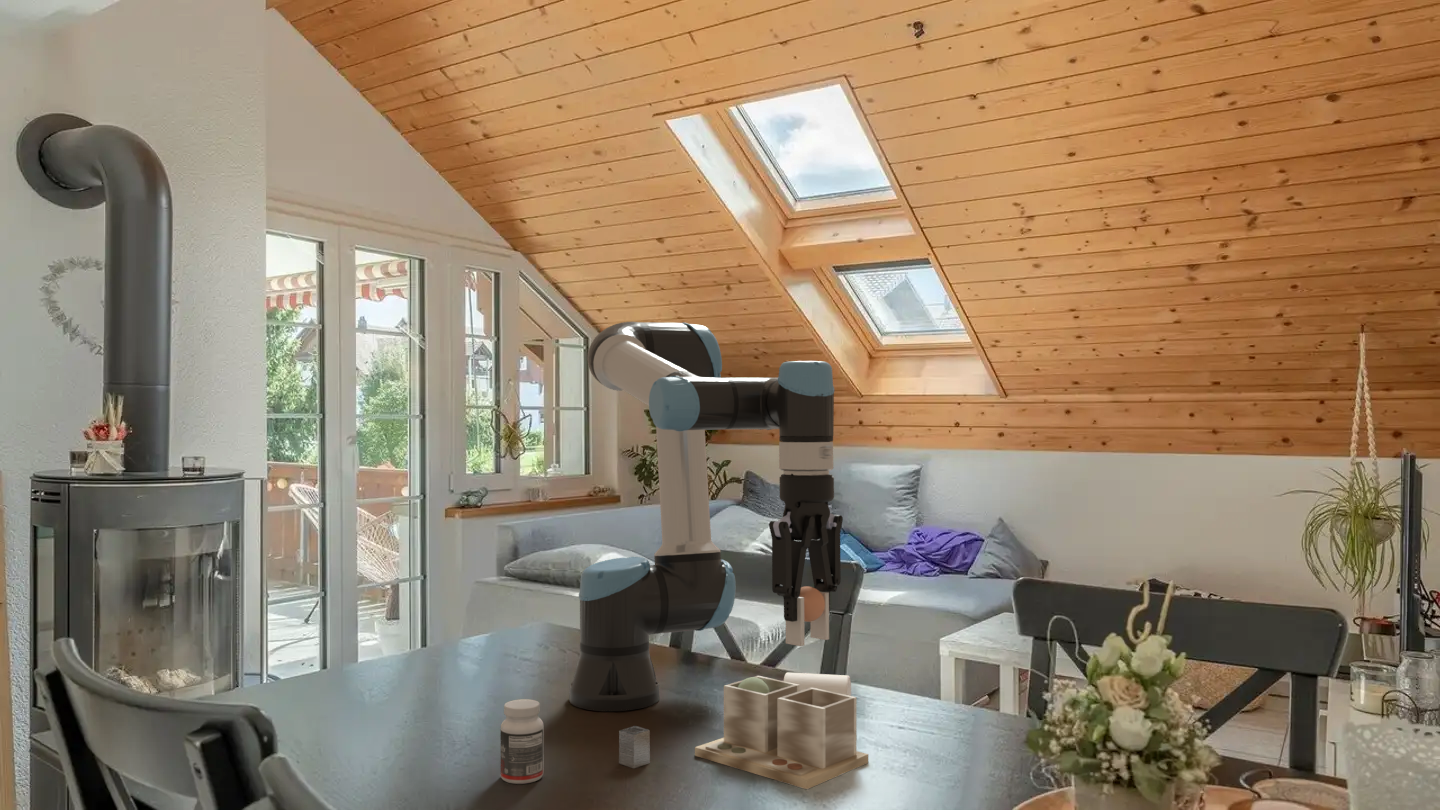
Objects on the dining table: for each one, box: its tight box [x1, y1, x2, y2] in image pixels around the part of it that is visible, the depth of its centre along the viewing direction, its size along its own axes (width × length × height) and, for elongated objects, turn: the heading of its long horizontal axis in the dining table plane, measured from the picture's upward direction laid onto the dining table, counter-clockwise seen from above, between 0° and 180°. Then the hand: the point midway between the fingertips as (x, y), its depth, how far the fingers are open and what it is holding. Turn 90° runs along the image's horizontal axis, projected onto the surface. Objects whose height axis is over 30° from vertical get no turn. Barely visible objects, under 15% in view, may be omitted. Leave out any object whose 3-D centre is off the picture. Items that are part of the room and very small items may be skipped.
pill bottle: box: [499, 698, 545, 785], centre depth 146 cm, size 6×6×10 cm
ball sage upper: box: [738, 676, 769, 694], centre depth 158 cm, size 5×5×5 cm
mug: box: [782, 672, 852, 696], centre depth 171 cm, size 12×10×8 cm
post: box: [618, 725, 651, 769], centre depth 152 cm, size 3×3×5 cm
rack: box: [694, 675, 869, 790], centre depth 153 cm, size 20×14×9 cm
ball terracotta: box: [799, 585, 825, 623], centre depth 151 cm, size 5×5×5 cm
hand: (807, 640), depth 151 cm, fingers closed on ball terracotta, 5 cm apart
